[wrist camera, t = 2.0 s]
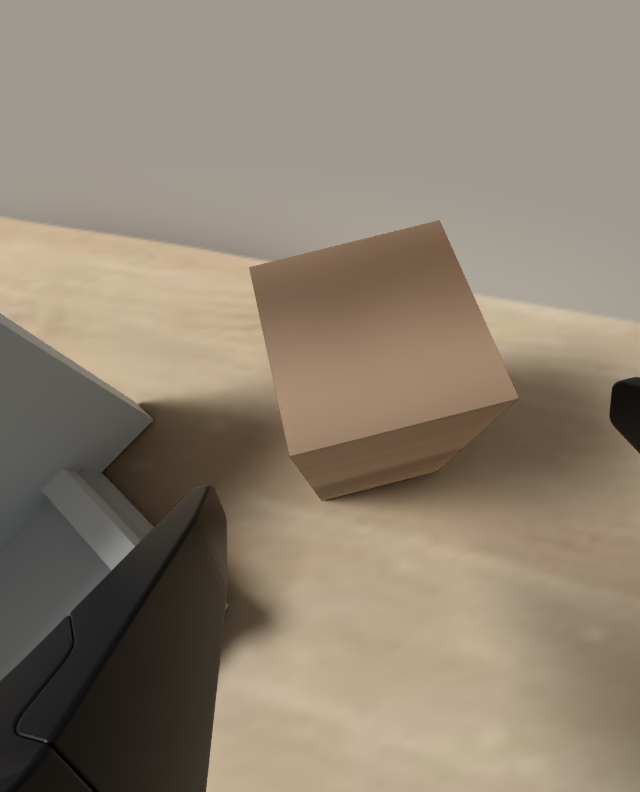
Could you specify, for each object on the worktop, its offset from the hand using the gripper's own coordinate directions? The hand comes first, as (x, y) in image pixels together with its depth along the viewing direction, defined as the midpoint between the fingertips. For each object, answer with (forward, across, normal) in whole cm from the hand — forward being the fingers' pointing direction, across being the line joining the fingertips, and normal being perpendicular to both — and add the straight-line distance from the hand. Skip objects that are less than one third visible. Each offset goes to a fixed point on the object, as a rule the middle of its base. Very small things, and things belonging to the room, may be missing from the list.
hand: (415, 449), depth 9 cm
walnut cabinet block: (+10, 0, +5) cm, 11 cm away
